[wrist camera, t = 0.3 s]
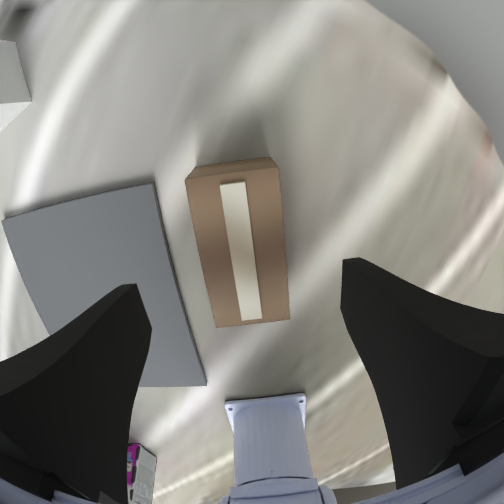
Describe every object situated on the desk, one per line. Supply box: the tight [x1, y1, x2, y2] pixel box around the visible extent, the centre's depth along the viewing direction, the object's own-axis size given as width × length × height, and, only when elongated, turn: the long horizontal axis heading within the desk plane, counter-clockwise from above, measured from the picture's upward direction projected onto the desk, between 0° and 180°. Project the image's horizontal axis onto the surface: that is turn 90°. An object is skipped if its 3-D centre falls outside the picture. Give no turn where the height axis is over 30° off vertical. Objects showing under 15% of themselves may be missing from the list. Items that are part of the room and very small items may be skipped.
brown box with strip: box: [185, 157, 290, 328], centre depth 17 cm, size 9×4×4 cm, turn 7°
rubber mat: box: [1, 182, 207, 387], centre depth 21 cm, size 18×14×1 cm
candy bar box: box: [127, 444, 157, 504], centre depth 25 cm, size 11×5×16 cm, turn 109°
